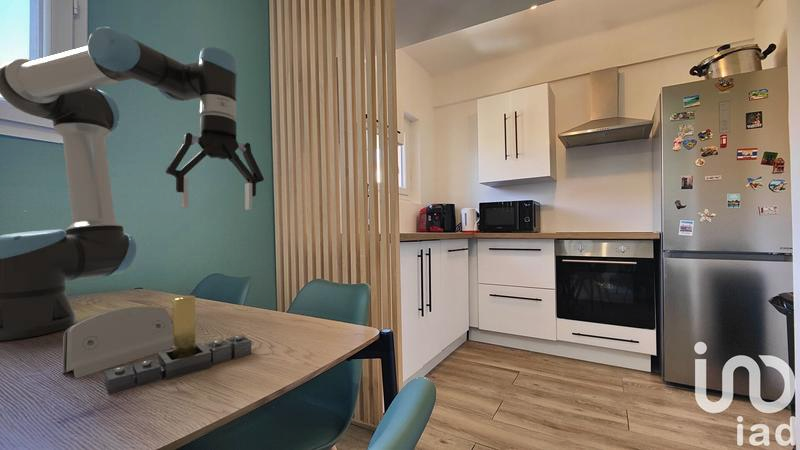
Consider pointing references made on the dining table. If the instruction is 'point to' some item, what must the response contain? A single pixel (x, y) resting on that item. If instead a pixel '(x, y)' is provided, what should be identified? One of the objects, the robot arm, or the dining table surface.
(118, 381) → the chain end
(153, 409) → the dining table surface
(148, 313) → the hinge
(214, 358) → the chain end
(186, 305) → the link pin
